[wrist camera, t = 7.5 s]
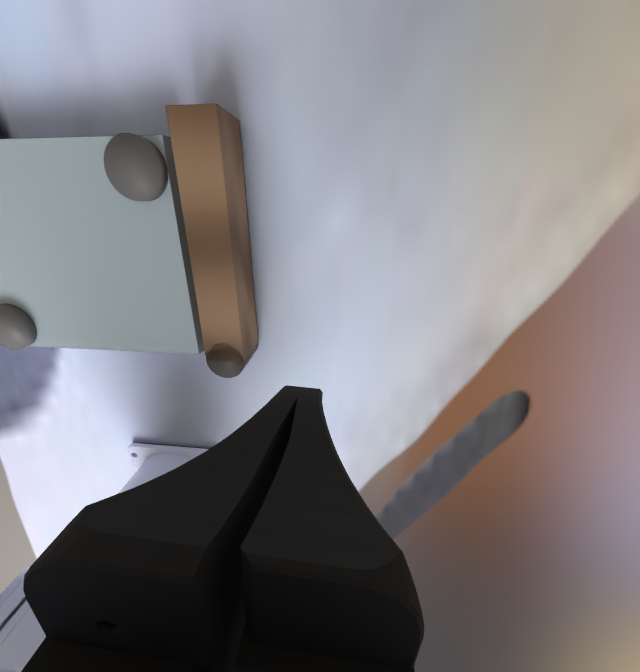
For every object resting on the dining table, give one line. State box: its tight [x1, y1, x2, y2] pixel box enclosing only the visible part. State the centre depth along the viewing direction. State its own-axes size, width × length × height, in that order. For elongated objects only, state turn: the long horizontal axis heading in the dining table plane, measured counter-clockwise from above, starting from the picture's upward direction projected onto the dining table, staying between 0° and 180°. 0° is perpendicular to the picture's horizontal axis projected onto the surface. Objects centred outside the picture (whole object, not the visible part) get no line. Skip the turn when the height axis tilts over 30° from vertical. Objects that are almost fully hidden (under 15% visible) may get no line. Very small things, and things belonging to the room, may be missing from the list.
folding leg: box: [166, 104, 258, 378], centre depth 18 cm, size 14×2×3 cm, turn 0°
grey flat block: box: [0, 133, 204, 354], centre depth 19 cm, size 12×14×3 cm
